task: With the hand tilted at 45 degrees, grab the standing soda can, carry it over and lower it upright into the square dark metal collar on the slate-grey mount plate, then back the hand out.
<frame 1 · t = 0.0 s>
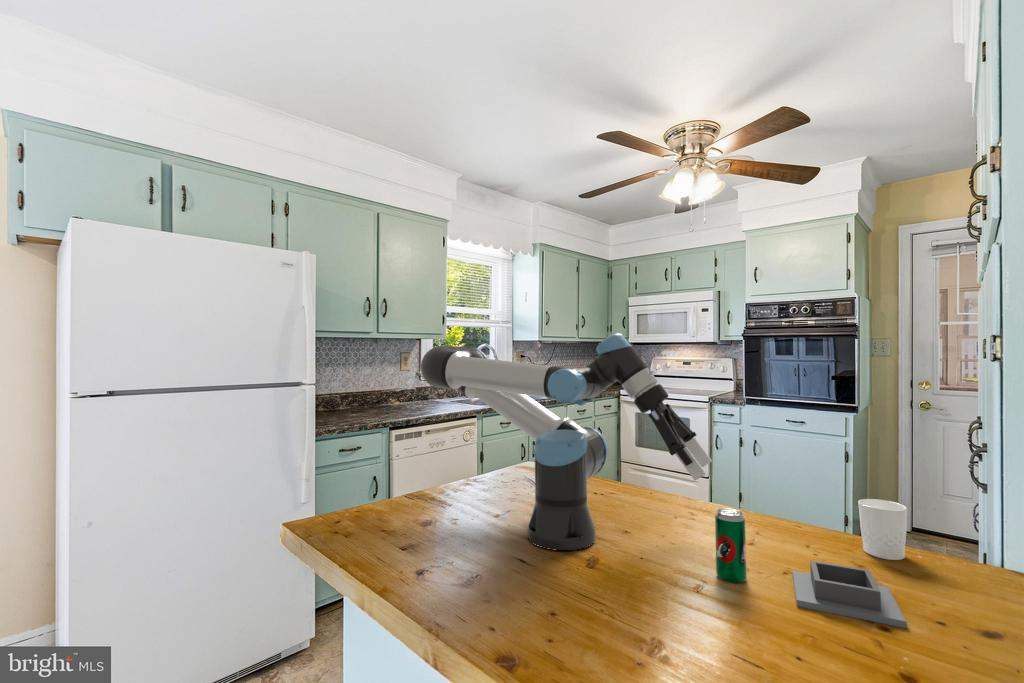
hand: (704, 470, 106), 15 cm above the counter, tool tilted 35°, fingers open, 13 cm apart
soda can: (731, 579, 87), on the counter
mount: (843, 599, 79), on the counter
white cup: (883, 554, 97), on the counter
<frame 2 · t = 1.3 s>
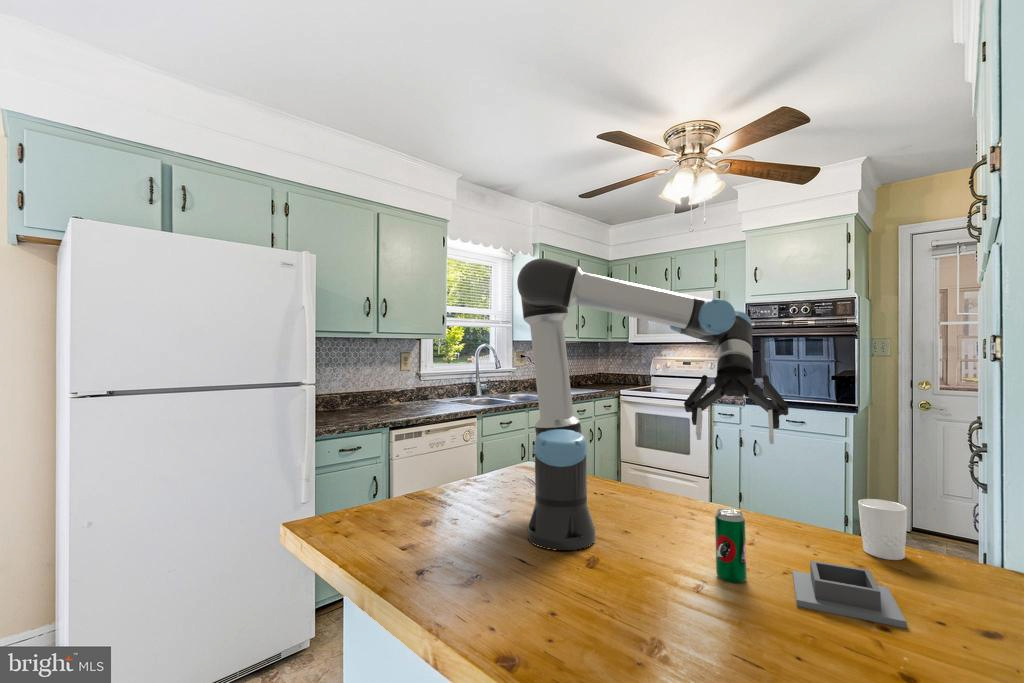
hand: (733, 438, 97), 24 cm above the counter, tool tilted 45°, fingers open, 13 cm apart
nothing on the counter moved.
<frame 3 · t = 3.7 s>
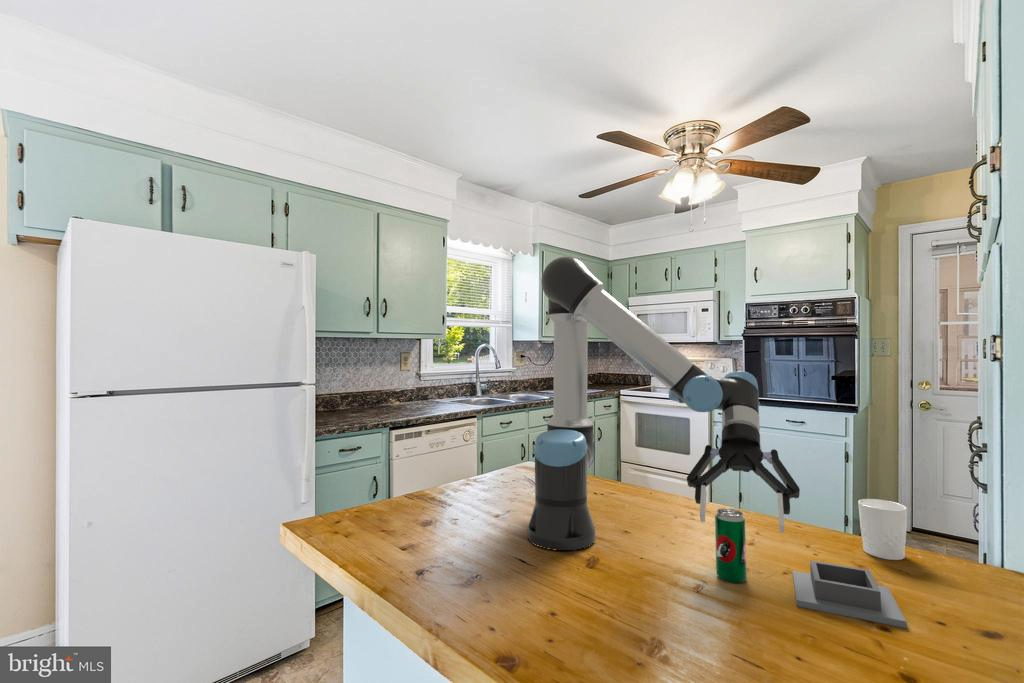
hand: (740, 523, 90), 9 cm above the counter, tool tilted 45°, fingers open, 13 cm apart
nothing on the counter moved.
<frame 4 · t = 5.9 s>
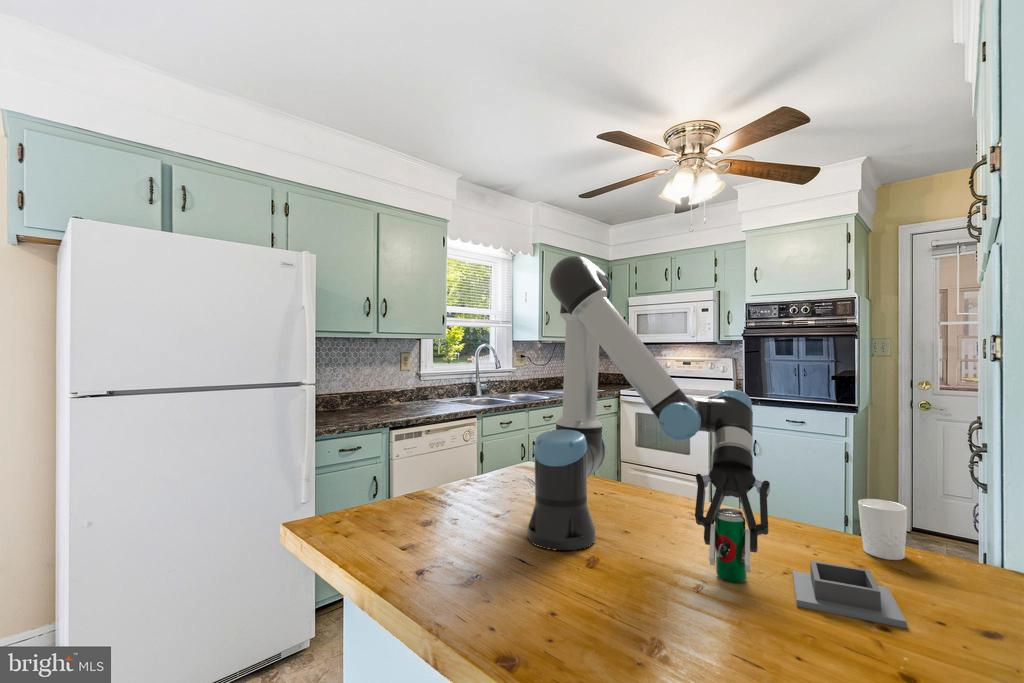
hand: (729, 564, 84), 4 cm above the counter, tool tilted 45°, fingers closed on soda can, 5 cm apart
soda can: (731, 579, 87), on the counter, touching gripper
everything else where it was.
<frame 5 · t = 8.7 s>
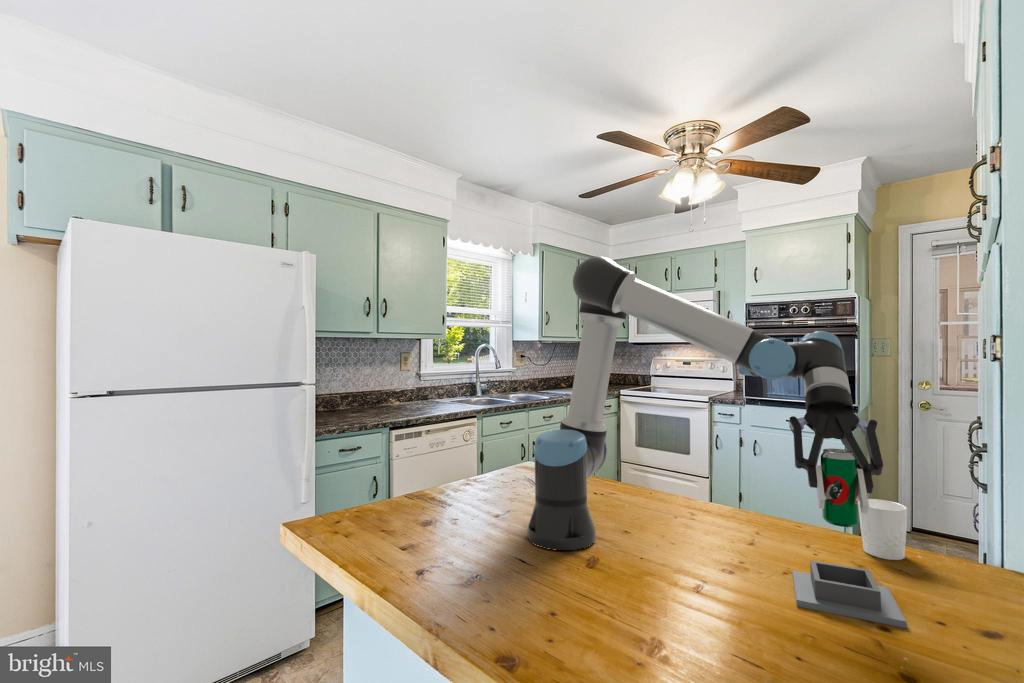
hand: (843, 506, 77), 16 cm above the counter, tool tilted 45°, fingers closed on soda can, 5 cm apart
soda can: (840, 524, 80), point 12 cm above the counter, touching gripper
everything else where it was.
when the fingers open (7 cm above the counter, at t = 11.5 s): soda can drops 2 cm, resting on mount.
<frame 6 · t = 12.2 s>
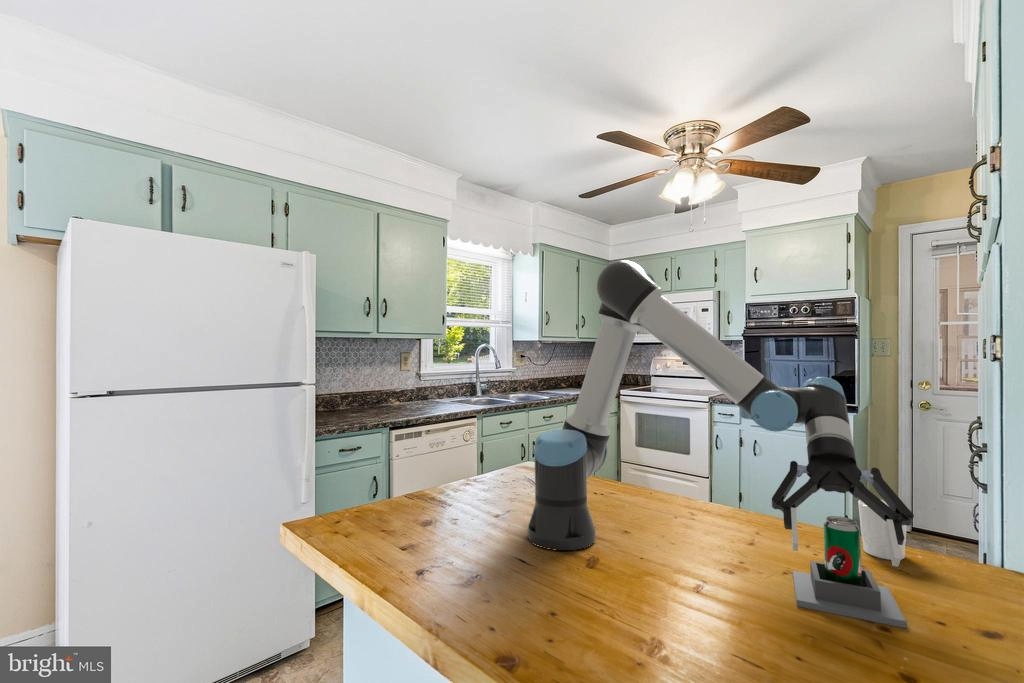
hand: (844, 554, 77), 8 cm above the counter, tool tilted 45°, fingers open, 13 cm apart
soda can: (843, 594, 79), point 1 cm above the counter, touching mount
everything else where it was.
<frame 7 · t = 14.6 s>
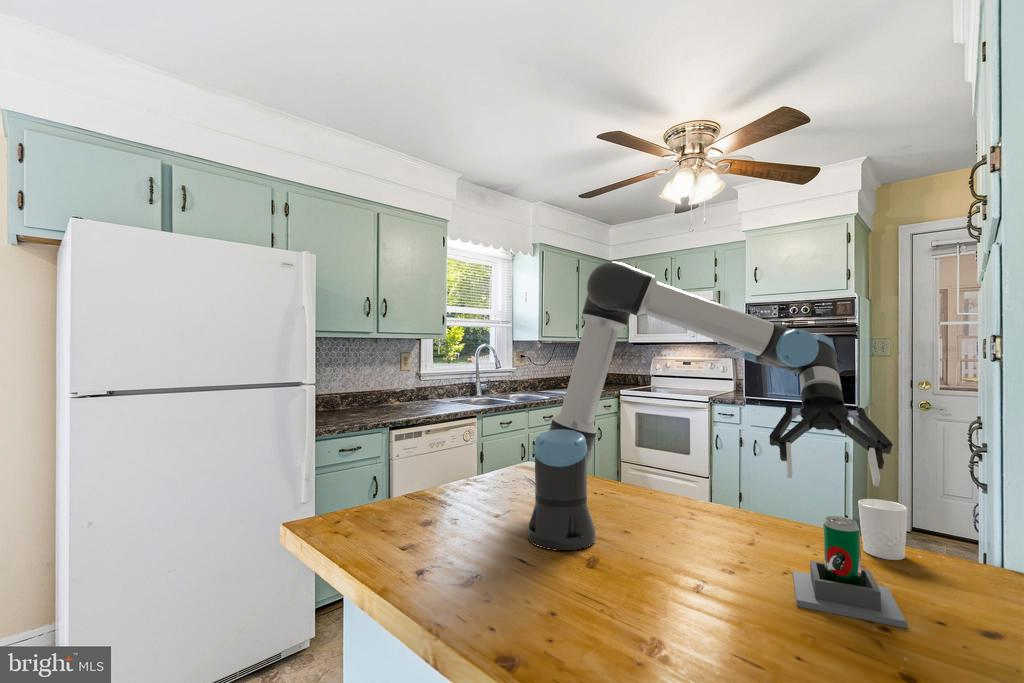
hand: (831, 478, 89), 18 cm above the counter, tool tilted 45°, fingers open, 13 cm apart
nothing on the counter moved.
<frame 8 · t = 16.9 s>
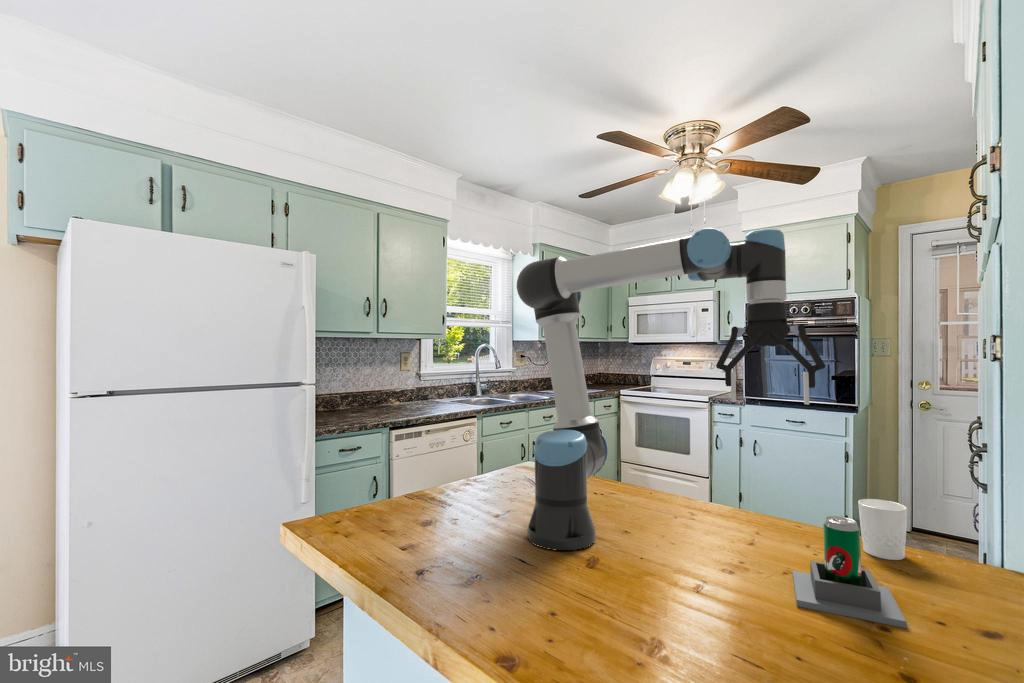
hand: (769, 402, 101), 31 cm above the counter, tool pointing down, fingers open, 13 cm apart
nothing on the counter moved.
at the end: soda can 0.1 cm off-centre on the mount, point 0.8 cm above the mount's base; soda can tilted 0°; the gripper is holding nothing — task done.
